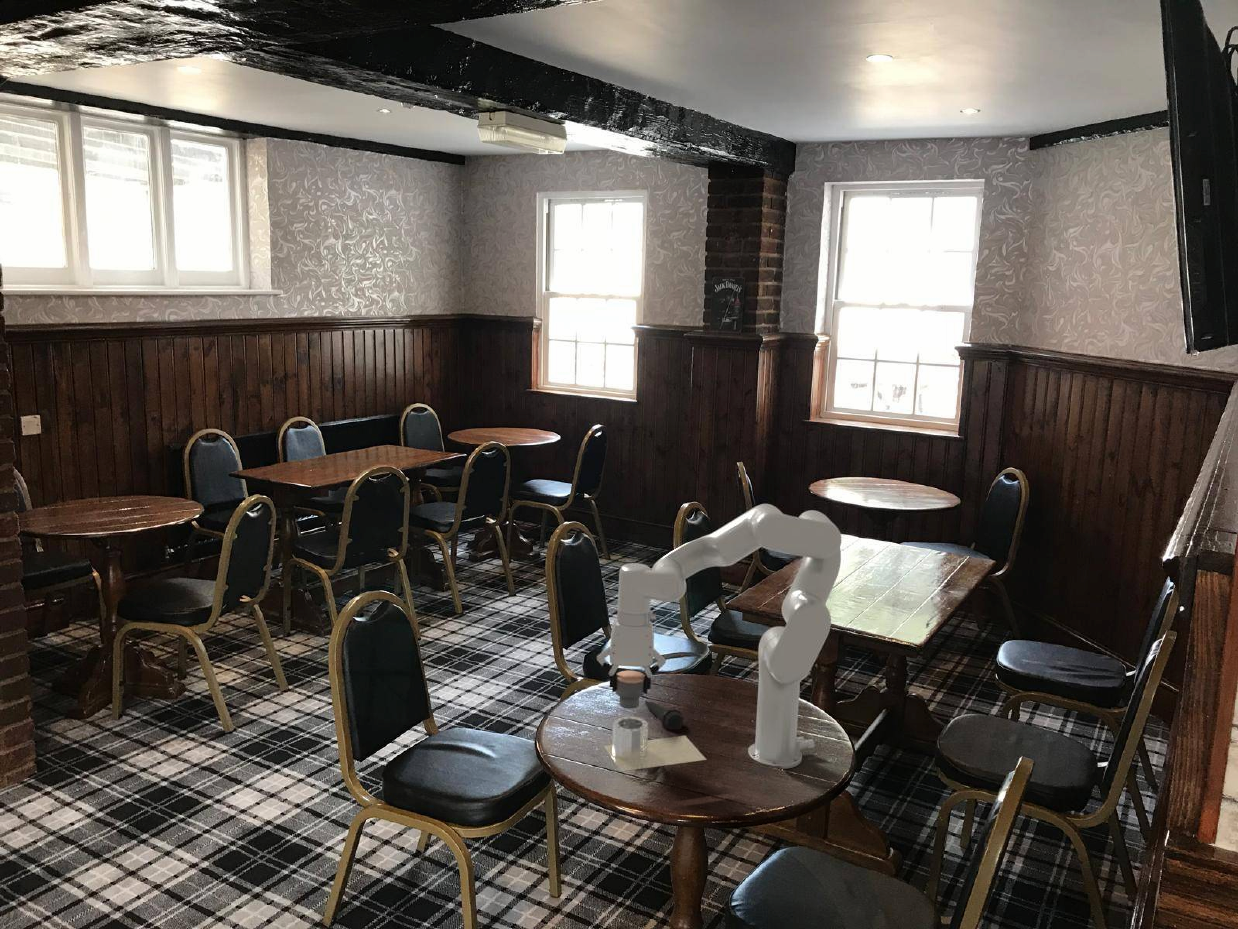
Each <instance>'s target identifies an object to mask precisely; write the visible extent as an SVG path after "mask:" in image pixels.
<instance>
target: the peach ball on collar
mask: <svg viewBox="0 0 1238 929" xmlns="http://www.w3.org/2000/svg"><path fill="white" fill-rule="evenodd" d="M644 685H645V673H643V672H639V671H636V670H623V671H619V672H616V688H615V692H614V693H615V694H616V695H617V696H618V697H619V701H618V702H619V704H618V705H619V706H620V707H621V708H623V709H629V710H630V709H631V710H632V709H636V708H639V706H640V698H641V697H643V696H644V695H645V693H644Z"/></svg>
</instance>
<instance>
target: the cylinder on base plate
mask: <svg viewBox="0 0 1238 929" xmlns="http://www.w3.org/2000/svg"><path fill="white" fill-rule="evenodd" d="M611 738H612V741H611V743H612V744H609V745H603V748H604V749H605V750H606V752H607V753H608V755H609V756H610V757H611V759H612V760H613V762H614V763H615V764H616V766H617V767H618V769H619V771H620V772H627V771H632V770H640V769H648V768H649V769H650V768H655V767H656V768H657V767H664V766H671V765H677V764H684V763H693V762H699V761H706V760H707V758H706V757H705V756H704V755H703V754H702V753H701V752H700V751H699V749H698V748H697V747H696V746H695V745H694V744H693V742H691V741H690V739H689V738H688V736H686V735H679V736H672V737H671V736H670V737H664V738H662V737H661V738H656V739H648V738H649V723H648V722H647V721H646V720H645V719H643V718H641V717H638V716H628V715H627V716H620V717H618V718H617V719H614V721H613V723H612V737H611Z"/></svg>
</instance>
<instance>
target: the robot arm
mask: <svg viewBox="0 0 1238 929" xmlns="http://www.w3.org/2000/svg"><path fill="white" fill-rule="evenodd" d="M841 545H842V534H841V532H840V530H839V528H838V527H837V525H836V524H835V523H833V522H832V521H831V519H829V517H828V516H827V515H826V514H824V513H822V512H820V511H818V510H814V509H813V510H806V511H804V512H802V513H801V514H800V515H799V516H798V517H797V516H793V515H790V514H789V515H788V514H785V513H783V512H782V511H781V510H780V509H779V508H777V507H776V506H774V504H773V505H772V504H769V503H762V504H759V505H756V506H754V507H752V508H750V509H749V510H747V511H745V512H744V513H743V514H741V515H739V516H738V517H736V518H734V519H733V520H732V521H730V522H728V523H726V524H724V525H723V526H722V527H719V528H718V529H717V530H715V531H713V532H712V533H709V534H706V535H703V536H701V537H699V538H696V539H694V540H691V541H689V542H686V543H684V544H682V545H680V546H678V547H677V548H675V549H674V550H672V551H670V552H669V553H667V554H666V555H664V556H663V557H661V558H660V559H658V560H657V561H656V562H654V564H653V566H652V568H651V567H649V565H647V564H643V563H638V562H633V563H632V562H631V563H626V564H623V565H622V566H621V567H620V569H619V573H618V591H617V592H618V597H617V612H616V613H617V614H616V615H617V616H616V617H617V618H616V619H615V620H614V621H613V622H612V623H613V624H612V628H611V633H610V642H609V643H610V644H609V645H610V646H608V647H607V648H606V649H605V650H603V651H601V652H600V653H599V654H598V655H597V656H596V660H597V662H599V664H600V665H601V666H602V668H603V669H604V670H605V671H606V672H607V673H608V675H609V688H612V691H611V693H615V688H616V674H617V672H616V671H617V670H618V668H619V667H635V668H637V667H638V668H639V667H640V668H643V670H644V672H645V673H644V675H645V685H644V695H648V690H651V686H652V684H651V683H652V678H653V676H654V675H655V674H656V673H657V672H658V671H660V669H662V667H663V666H664V665H665V664H666V662H667V660H666V658H664V656H662V654H660V652H658V651H657V650H656V649H655V636H654V635H655V633H654V631H655V630H654V625H653V620H655V621H656V620H657V613H653V612H652V611H651V605H652V604H651V602H652V601H651V600H656V601H660V602H664V603H665V602H666V603H674V602H676V601H677V602H678V601H680V600H681V599H682V598H683V597H684V595H685V593H686V591H687V581H686V579H688V578H689V577H691V576H693V575H695V574H697V573H698V572H700V571H702V570H705V569H707V568H712V567H713V568H714V567H728V566H730V567H731V566H733V565H735V564H736V563H737V562H739V561H740V560H742V559H744V558H746V557H747V556H749V555H750V554H752V553H753V552H755V551H757V550H759V549H760V548H763V549H767V550H769V551H772V552H777V553H782V554H787V555H792V556H798V557H803V558H802V561H801V565H800V567H799V570H798V572H797V574H796V576H795V577H794V580H793V582H792V583H791V585H790V588H789V590H788V592H787V594H786V595H785V598H784V599H783V602H782V605H781V615H782V617H783V619H784V621H785V623H786V625H785V626H773V627H771V628H768V629H767V630H766V631H765V632H764V633H763V634H762V636H761V638H760V640H759V643H758V655H757V656H758V688H757V689H758V690H757V704H756V705H757V706H756V723H755V739H754V740H755V742H754V743H753V744H751V745H749V747H748V749H747V752H748V755H749V756H750V758H752V759H753V760H755V761H756V762H759V763H760V764H764V765H768V766H773V767H779V768H781V770H785V769H786V770H787V769H791V768H794V767H797V766H799V765H800V764H801V762H802V759H803V755H802V752H801V751H803V750H804V749H811V748H815V746H816V744H815V741H814V740H813V739H812V738H811V739H805V738H804V736H798V737H797V734H798V718H799V717H798V716H799V705H800V704H799V702H800V701H799V700H800V690H801V689H800V688H801V687H800V685H801V684H800V683H801V682H802V680H804V679H805V678H806V677H807V675H808V674H809V673H810V671H811V669H812V668H813V666H814V663H815V662H816V660H817V658H818V656H819V654H820V651H821V650H822V648H823V646H824V644H825V641H826V639H827V638H828V635H829V633H830V630H831V624H832V616H831V613H830V610H829V608H828V607H827V606H826V603H827V601H828V599H829V597H830V594H831V592H832V590H833V587H834V585H835V582H836V580H837V578H838V576H839V573H840V568H841V562H842V552H841ZM608 656H609V662H610V663H609V662H608V660H606V658H607V657H608ZM654 659H655V660H656V661H657V662H656V663H654V664H653V662H654Z"/></svg>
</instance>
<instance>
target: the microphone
mask: <svg viewBox="0 0 1238 929" xmlns="http://www.w3.org/2000/svg"><path fill="white" fill-rule="evenodd" d="M644 703H645V705H646V707H647V708H648V710H649V712H651V714H653V715H654V716H655V717H656V718H658V719H659V720H660V721H661V722H660V723H661V725H662V728H663V729H666V730H668V731H669V730H670V731H678V730H681V729H682V727H683V724H684V718H683V715H682V713H681V711H678V710H677V709H675V708H673V709H667V708H666V707H664V706H662V705H660V704H657V703H656V702H653V701H648V700H645V701H644Z"/></svg>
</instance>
